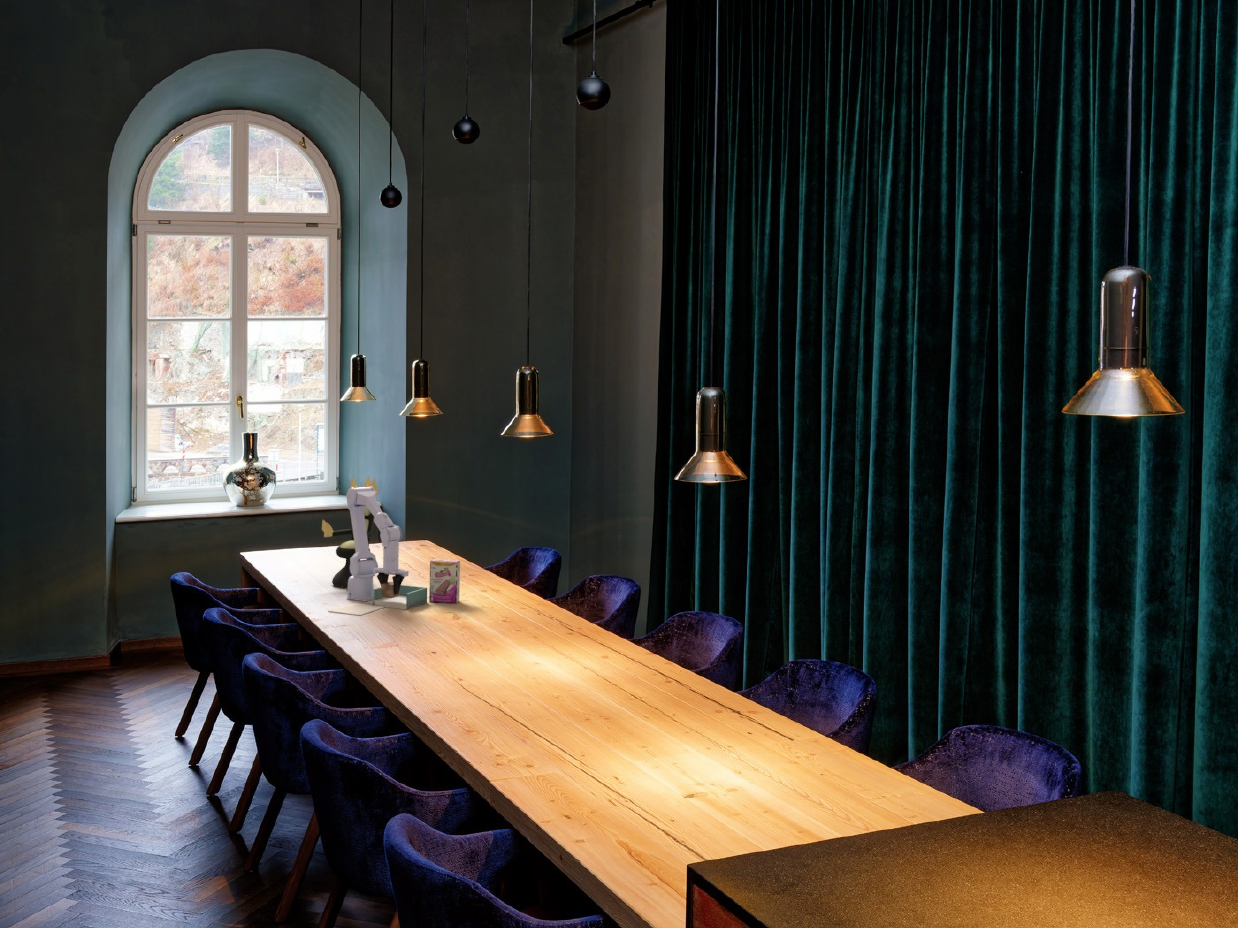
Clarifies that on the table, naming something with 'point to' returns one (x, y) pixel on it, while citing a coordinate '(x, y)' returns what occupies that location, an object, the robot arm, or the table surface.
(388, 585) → the walnut block
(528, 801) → the table surface
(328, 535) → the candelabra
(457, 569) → the candy bar box
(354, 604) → the mat
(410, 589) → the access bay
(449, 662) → the table surface
